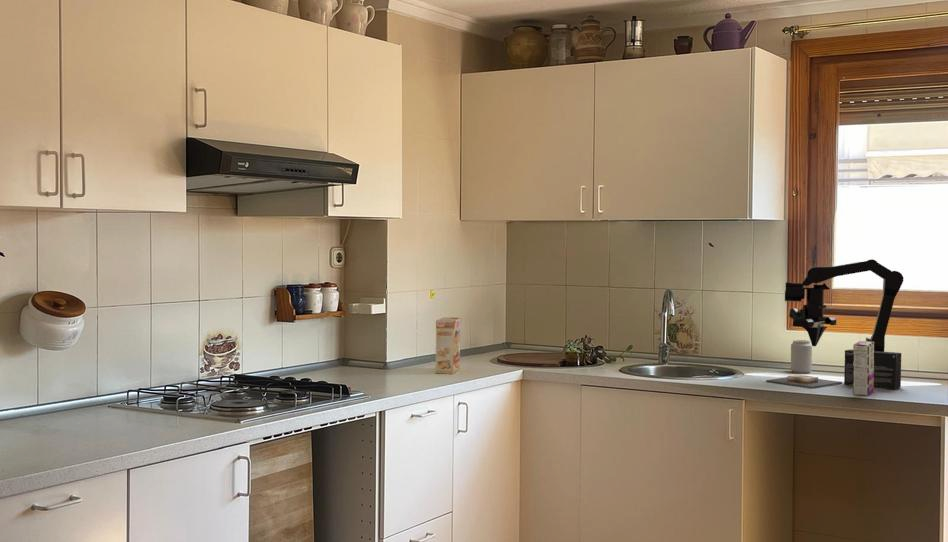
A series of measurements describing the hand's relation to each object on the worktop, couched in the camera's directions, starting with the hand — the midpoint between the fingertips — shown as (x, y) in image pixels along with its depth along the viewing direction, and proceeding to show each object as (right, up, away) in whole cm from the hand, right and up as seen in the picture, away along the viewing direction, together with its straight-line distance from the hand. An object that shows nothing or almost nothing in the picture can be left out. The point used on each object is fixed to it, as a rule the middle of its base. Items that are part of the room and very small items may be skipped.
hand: (814, 346), depth 331 cm
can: (+2, -12, +20) cm, 23 cm away
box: (+15, -13, -13) cm, 24 cm away
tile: (-5, -11, -7) cm, 13 cm away
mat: (-6, -12, -7) cm, 15 cm away
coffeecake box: (-130, -11, +16) cm, 131 cm away
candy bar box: (+6, -13, -28) cm, 31 cm away
